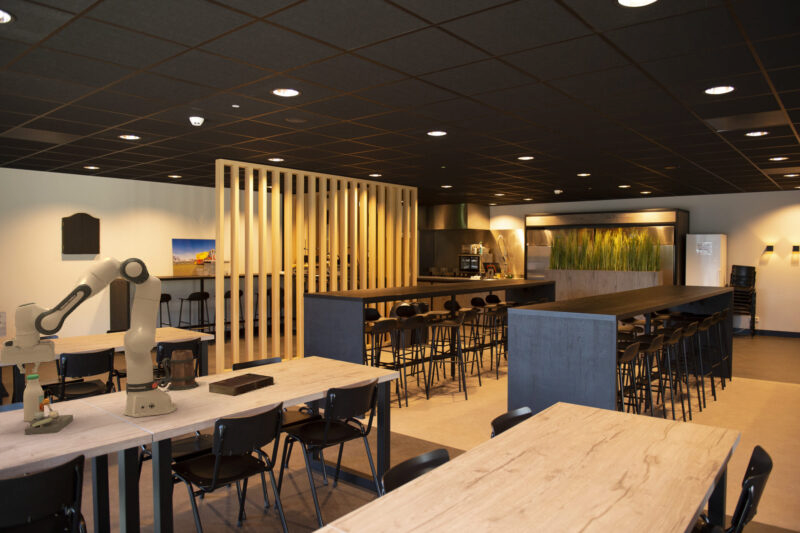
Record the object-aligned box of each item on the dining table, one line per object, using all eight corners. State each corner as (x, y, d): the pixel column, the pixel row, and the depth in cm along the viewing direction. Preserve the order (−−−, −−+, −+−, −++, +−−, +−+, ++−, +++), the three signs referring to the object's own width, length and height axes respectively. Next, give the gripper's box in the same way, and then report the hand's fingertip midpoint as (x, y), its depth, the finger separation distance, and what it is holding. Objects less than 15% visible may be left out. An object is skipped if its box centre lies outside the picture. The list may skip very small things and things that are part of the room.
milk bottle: (34, 422, 250) (32, 377, 250) (19, 421, 252) (18, 376, 251) (48, 417, 258) (47, 373, 257) (34, 416, 259) (32, 373, 259)
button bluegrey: (45, 417, 241) (44, 411, 241) (41, 419, 238) (41, 413, 238) (36, 417, 241) (36, 411, 240) (33, 419, 237) (33, 413, 237)
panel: (73, 420, 252) (72, 410, 252) (56, 432, 235) (56, 421, 235) (43, 422, 250) (43, 412, 250) (24, 434, 232) (24, 423, 232)
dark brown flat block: (234, 396, 290) (234, 387, 290) (209, 392, 300) (208, 383, 300) (273, 385, 315) (273, 376, 315) (249, 381, 325) (249, 373, 325)
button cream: (59, 416, 242) (59, 410, 242) (56, 418, 239) (56, 412, 239) (51, 416, 242) (50, 410, 242) (47, 418, 238) (47, 412, 238)
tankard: (186, 382, 325) (185, 347, 324) (205, 385, 316) (204, 349, 315) (149, 391, 305) (148, 354, 304) (169, 394, 296) (168, 356, 295)
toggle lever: (56, 410, 248) (48, 396, 247) (54, 411, 245) (46, 398, 244) (50, 413, 247) (43, 399, 247) (48, 414, 245) (40, 401, 244)
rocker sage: (52, 419, 238) (51, 417, 238) (49, 421, 234) (48, 419, 234) (36, 424, 236) (35, 422, 236) (32, 427, 233) (32, 424, 233)
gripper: (57, 338, 249) (58, 369, 249) (5, 340, 245) (6, 372, 245) (51, 340, 243) (52, 372, 243) (-2, 343, 239) (-1, 375, 239)
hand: (29, 372), depth 244 cm, fingers open, 3 cm apart
